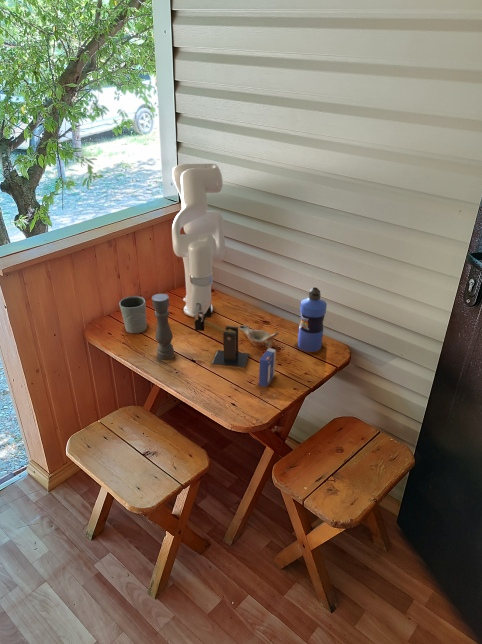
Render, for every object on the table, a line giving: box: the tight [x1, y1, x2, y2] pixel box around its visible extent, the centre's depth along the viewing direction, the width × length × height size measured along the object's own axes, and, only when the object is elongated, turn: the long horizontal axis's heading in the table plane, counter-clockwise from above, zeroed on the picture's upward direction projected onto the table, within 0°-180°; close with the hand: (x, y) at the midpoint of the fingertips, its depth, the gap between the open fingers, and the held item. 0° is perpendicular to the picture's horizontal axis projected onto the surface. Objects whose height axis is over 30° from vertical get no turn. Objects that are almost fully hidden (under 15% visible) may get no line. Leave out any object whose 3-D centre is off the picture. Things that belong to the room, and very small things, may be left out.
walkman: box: [258, 347, 277, 388], centre depth 161 cm, size 8×3×12 cm, turn 156°
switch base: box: [212, 325, 250, 368], centre depth 171 cm, size 12×9×13 cm
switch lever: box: [203, 316, 236, 334], centre depth 168 cm, size 13×5×2 cm, turn 80°
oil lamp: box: [238, 324, 280, 349], centre depth 183 cm, size 9×21×10 cm, turn 40°
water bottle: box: [297, 287, 328, 353], centre depth 176 cm, size 9×9×25 cm
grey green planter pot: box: [118, 295, 148, 334], centre depth 191 cm, size 10×10×12 cm
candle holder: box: [151, 293, 175, 363], centre depth 169 cm, size 6×6×25 cm
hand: (203, 323), depth 168 cm, fingers open, 9 cm apart
